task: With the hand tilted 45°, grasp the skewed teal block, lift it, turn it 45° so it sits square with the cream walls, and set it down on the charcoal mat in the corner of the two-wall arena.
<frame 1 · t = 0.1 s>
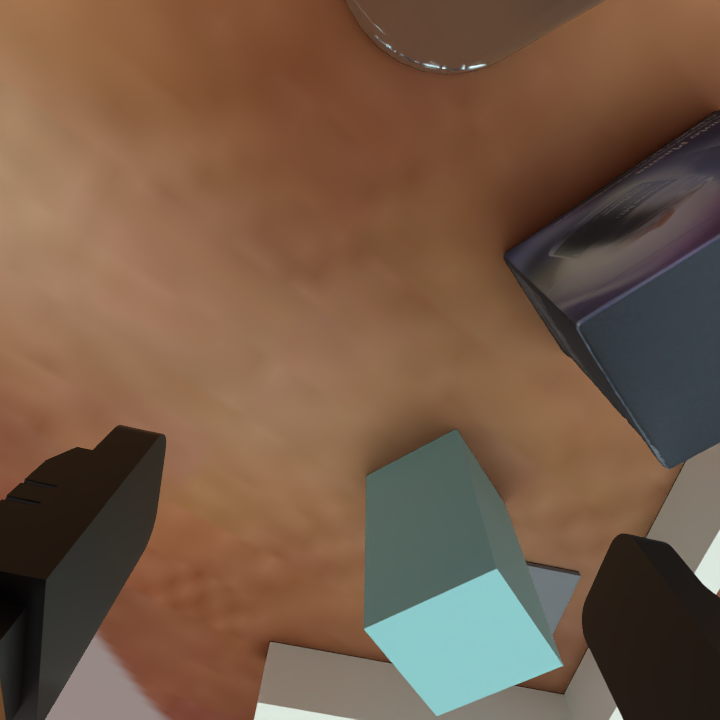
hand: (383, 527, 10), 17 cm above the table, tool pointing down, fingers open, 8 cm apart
small box: (631, 238, 25), on the table
teal block: (436, 489, 30), on the table
arena: (501, 606, 33), on the table
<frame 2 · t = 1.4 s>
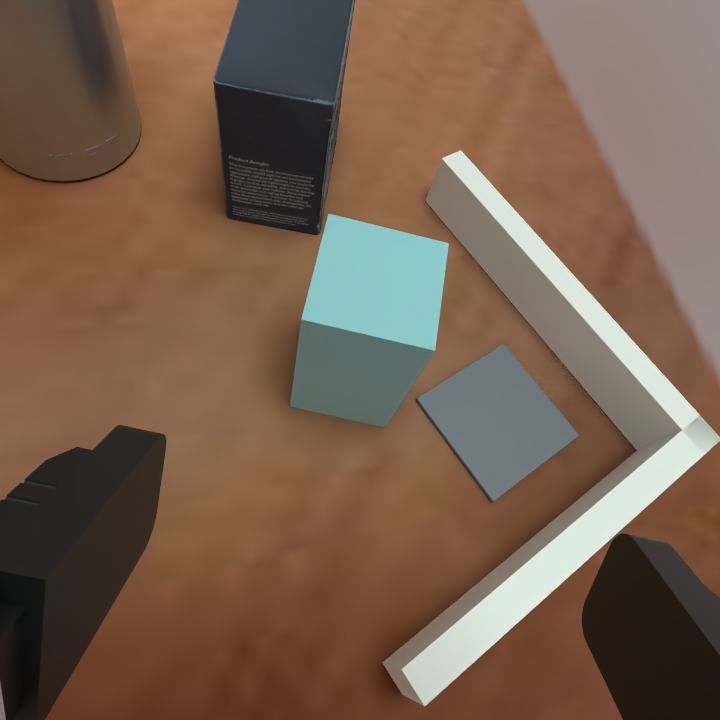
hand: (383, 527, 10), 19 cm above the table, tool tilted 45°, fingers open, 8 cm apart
small box: (283, 169, 38), on the table
teal block: (346, 373, 32), on the table
arena: (496, 418, 33), on the table
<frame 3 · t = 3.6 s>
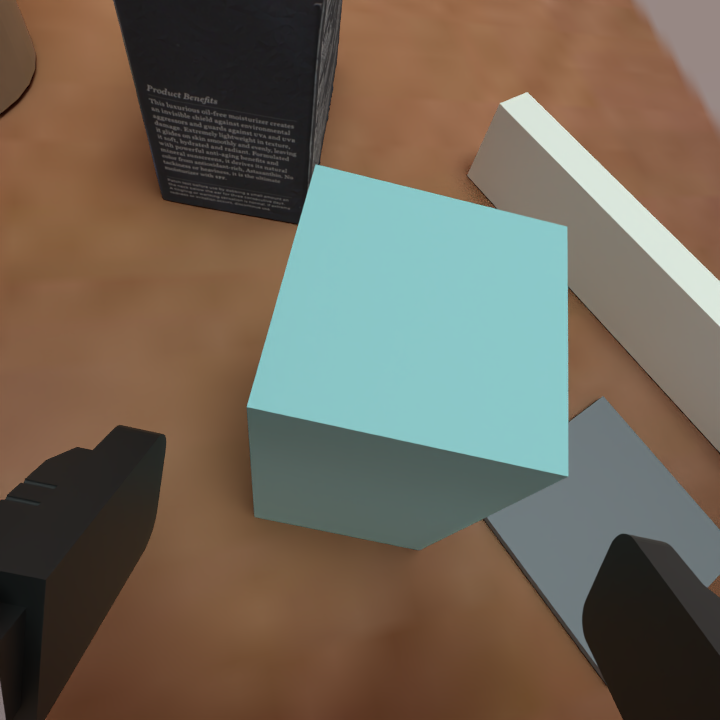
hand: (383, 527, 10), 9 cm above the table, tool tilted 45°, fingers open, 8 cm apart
small box: (254, 129, 25), on the table
teal block: (352, 453, 19), on the table
arena: (602, 526, 20), on the table
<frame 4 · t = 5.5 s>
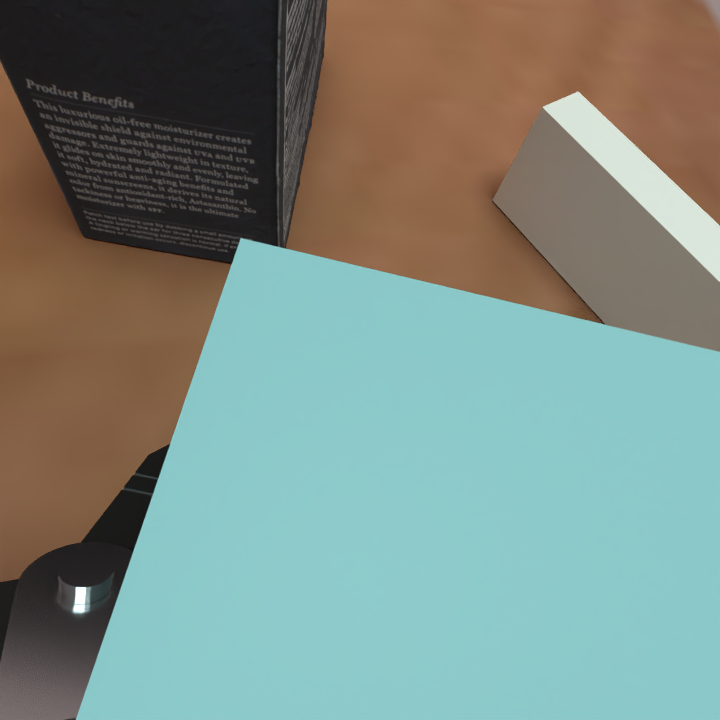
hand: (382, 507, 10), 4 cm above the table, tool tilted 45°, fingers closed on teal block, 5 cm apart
small box: (214, 140, 19), on the table
teal block: (338, 615, 13), on the table, touching gripper
arena: (699, 719, 14), on the table
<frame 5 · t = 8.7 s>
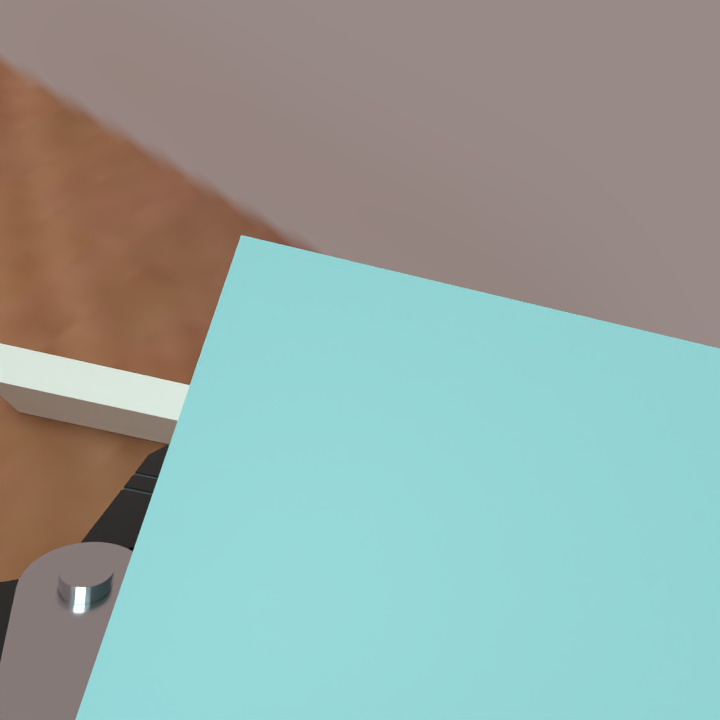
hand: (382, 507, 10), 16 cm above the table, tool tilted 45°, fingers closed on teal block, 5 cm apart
teal block: (338, 613, 13), point 12 cm above the table, touching gripper
arena: (307, 620, 24), on the table
when the fingers open (6 cm above the table, at t = 11.7 s): teal block drops 1 cm, resting on arena.
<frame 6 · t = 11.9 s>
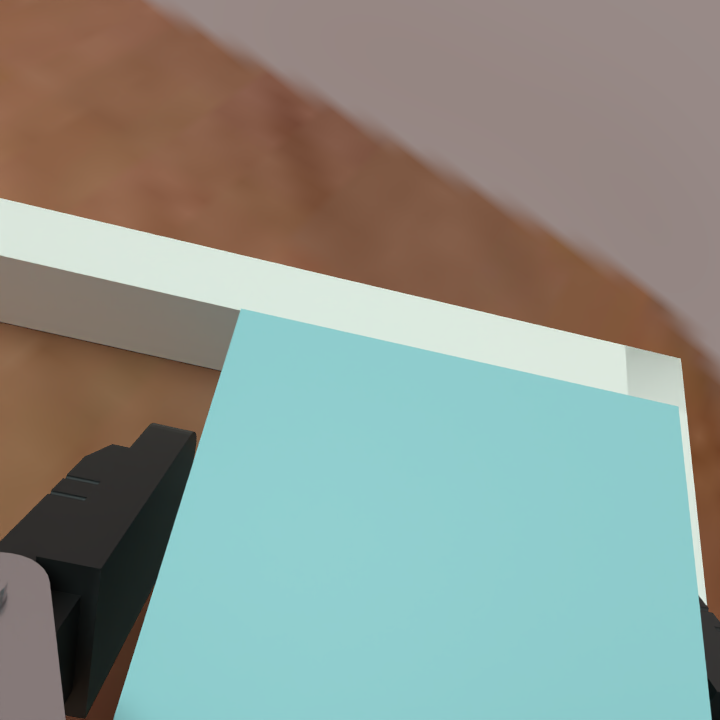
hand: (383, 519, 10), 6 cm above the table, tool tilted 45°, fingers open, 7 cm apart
teal block: (331, 618, 14), resting on arena
arena: (330, 617, 15), on the table
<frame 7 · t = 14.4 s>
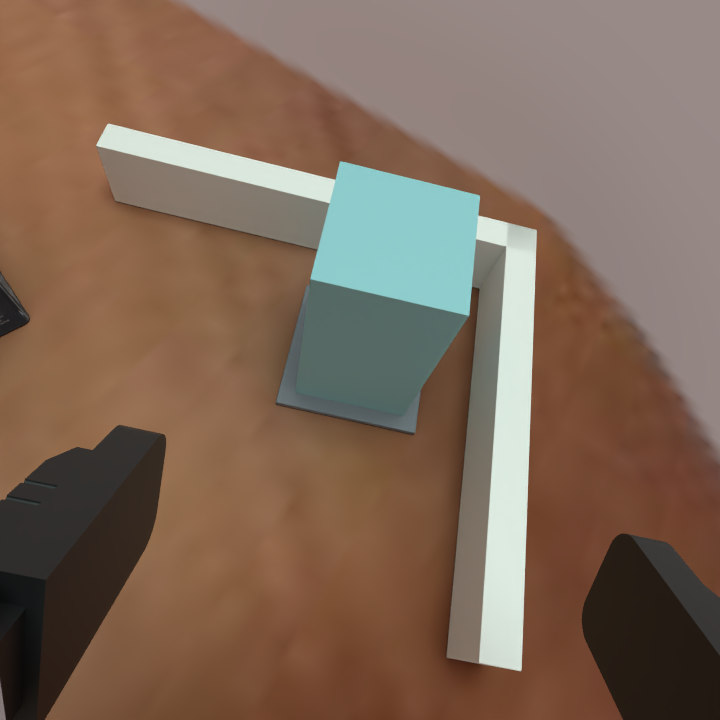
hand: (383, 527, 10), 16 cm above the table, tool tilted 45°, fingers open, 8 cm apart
teal block: (358, 355, 29), resting on arena
arena: (357, 357, 29), on the table
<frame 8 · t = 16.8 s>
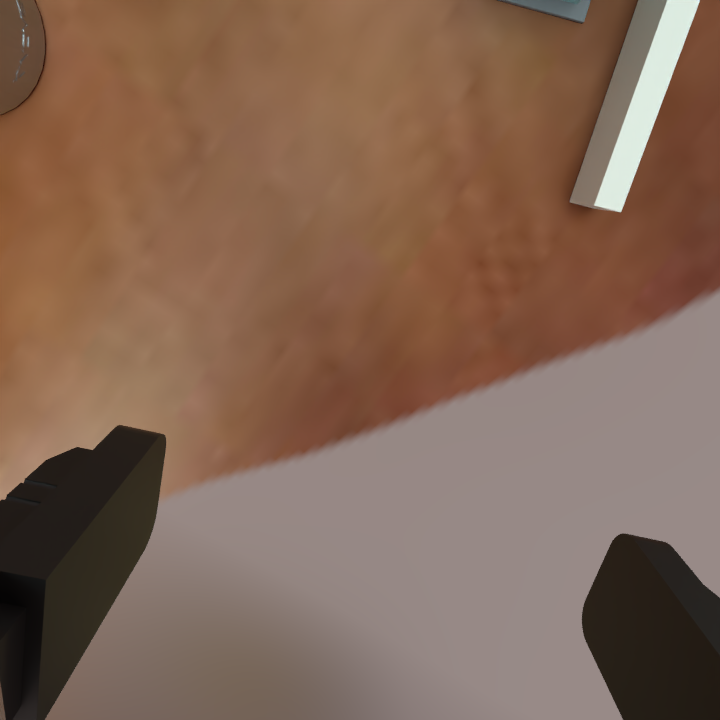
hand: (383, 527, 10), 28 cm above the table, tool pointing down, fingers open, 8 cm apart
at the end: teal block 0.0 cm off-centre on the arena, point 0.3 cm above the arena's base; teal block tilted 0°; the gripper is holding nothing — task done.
